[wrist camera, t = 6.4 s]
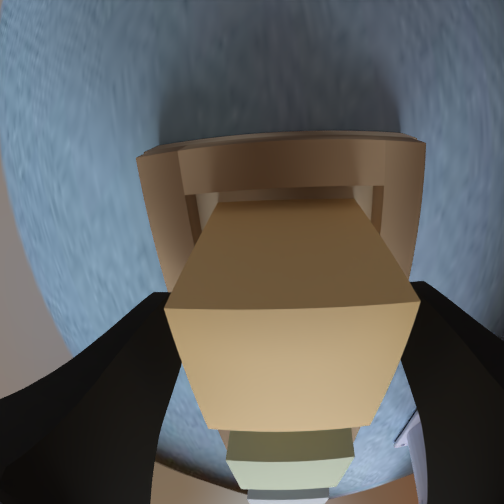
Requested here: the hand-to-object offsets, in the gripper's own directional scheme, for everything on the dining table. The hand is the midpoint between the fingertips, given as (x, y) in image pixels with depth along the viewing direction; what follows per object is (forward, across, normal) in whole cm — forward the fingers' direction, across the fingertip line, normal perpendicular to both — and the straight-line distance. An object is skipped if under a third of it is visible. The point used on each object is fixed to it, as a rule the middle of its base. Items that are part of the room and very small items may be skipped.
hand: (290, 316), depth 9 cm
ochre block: (+3, 0, 0) cm, 3 cm away
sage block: (+3, 0, +8) cm, 9 cm away
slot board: (+5, 0, +8) cm, 9 cm away
